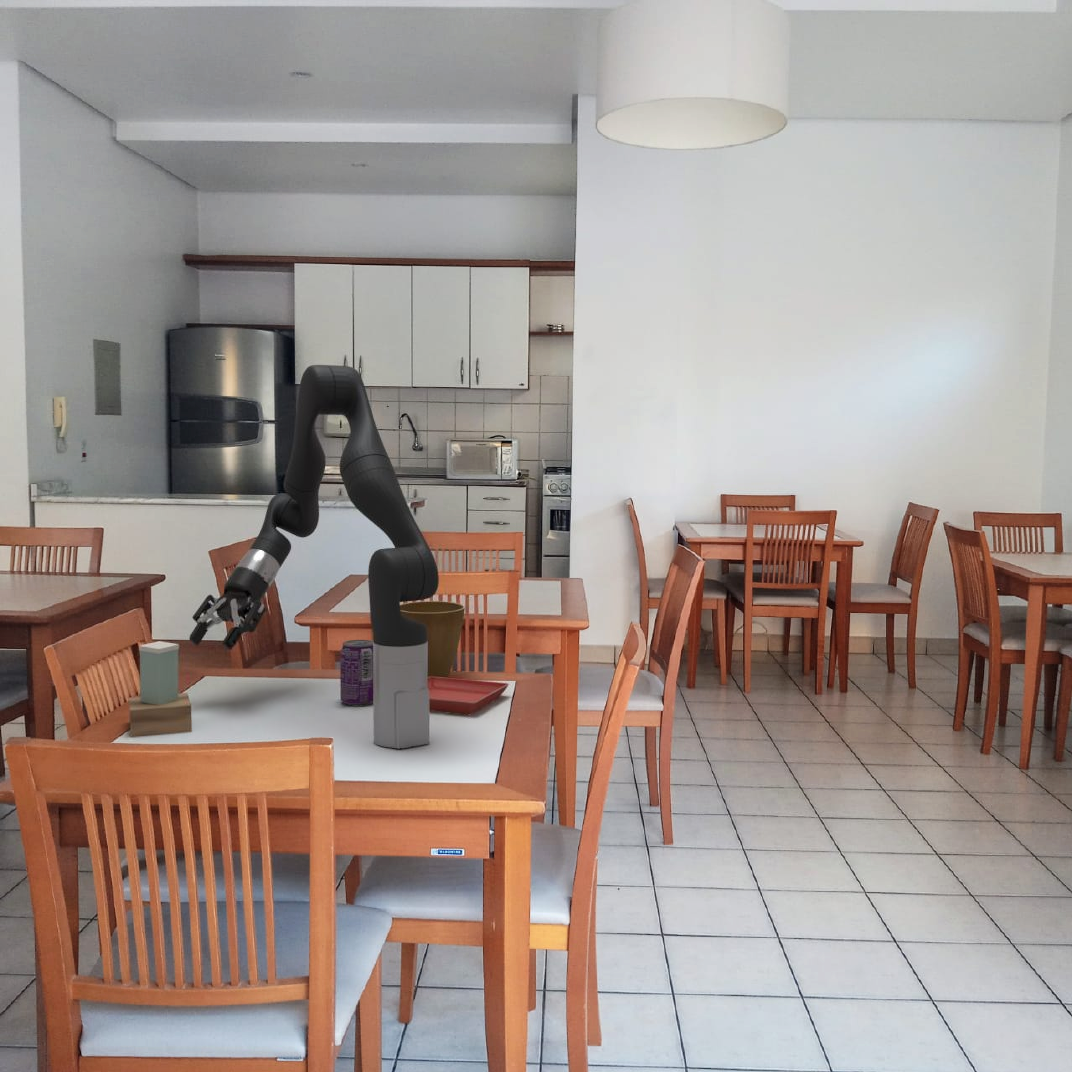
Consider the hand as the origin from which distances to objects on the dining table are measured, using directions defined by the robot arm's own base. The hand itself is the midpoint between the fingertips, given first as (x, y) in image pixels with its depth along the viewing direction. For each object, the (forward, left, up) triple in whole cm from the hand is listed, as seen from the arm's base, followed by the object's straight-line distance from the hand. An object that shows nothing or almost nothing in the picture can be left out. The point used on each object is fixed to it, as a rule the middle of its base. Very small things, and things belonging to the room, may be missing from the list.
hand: (209, 644), depth 193 cm
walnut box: (-5, +11, -13) cm, 18 cm away
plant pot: (+1, -48, -13) cm, 50 cm away
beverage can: (-9, -26, -13) cm, 31 cm away
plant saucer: (-19, -41, -14) cm, 47 cm away
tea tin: (-5, +11, -8) cm, 14 cm away
